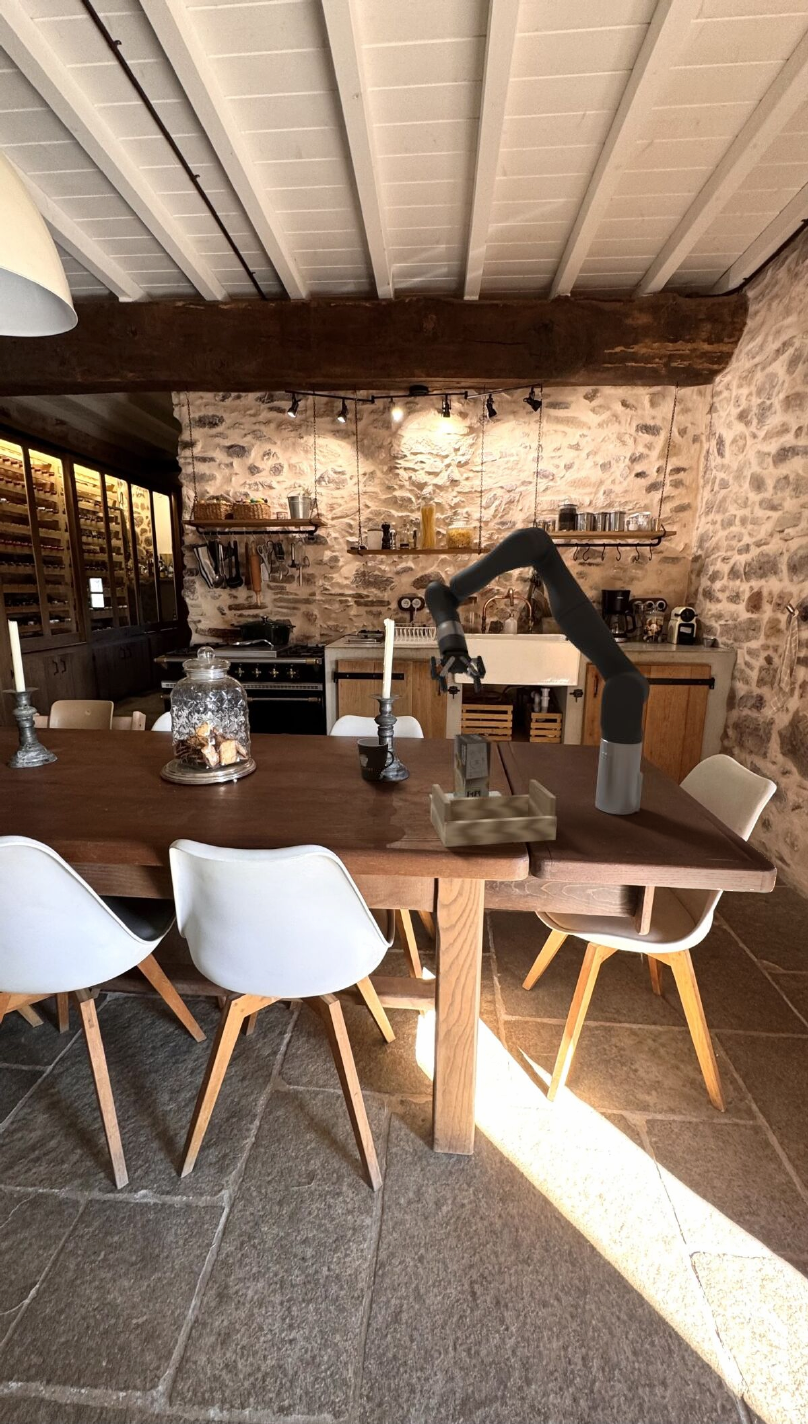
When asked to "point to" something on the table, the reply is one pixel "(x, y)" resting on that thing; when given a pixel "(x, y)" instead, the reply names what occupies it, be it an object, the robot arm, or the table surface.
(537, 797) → the wooden crate
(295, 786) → the table surface
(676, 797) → the table surface
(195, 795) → the table surface
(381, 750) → the coffee mug
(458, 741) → the coffee box
